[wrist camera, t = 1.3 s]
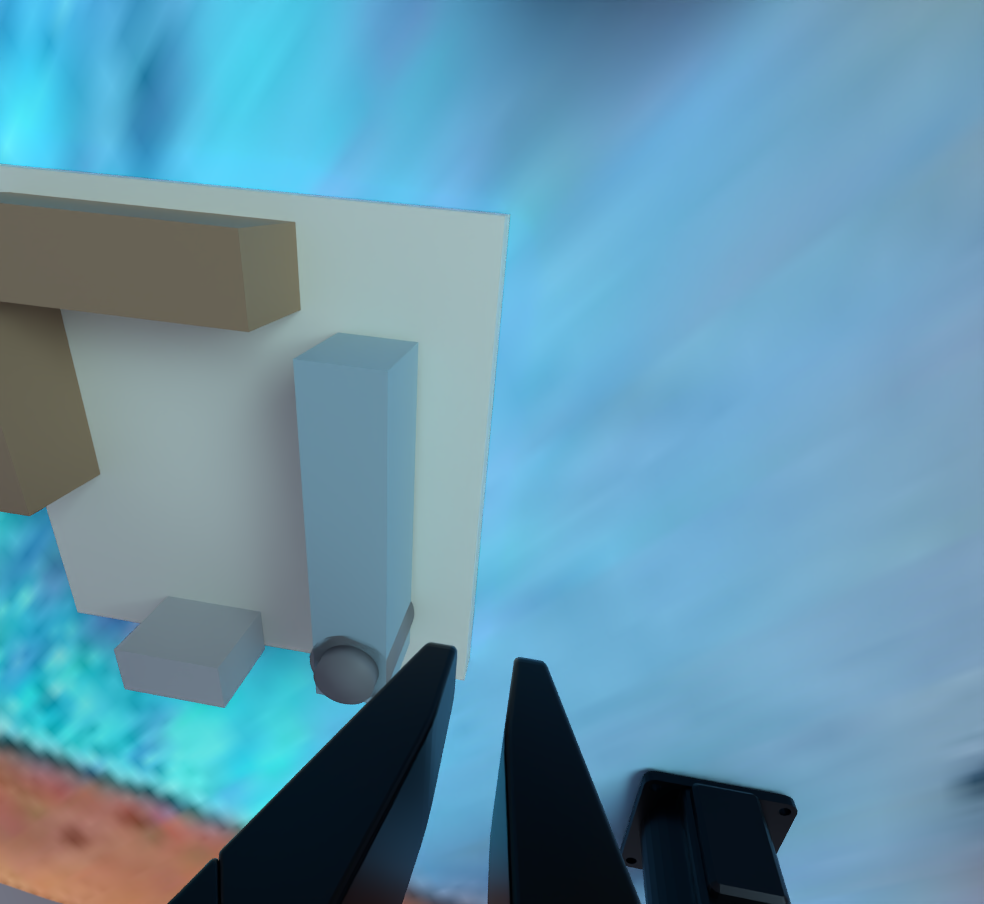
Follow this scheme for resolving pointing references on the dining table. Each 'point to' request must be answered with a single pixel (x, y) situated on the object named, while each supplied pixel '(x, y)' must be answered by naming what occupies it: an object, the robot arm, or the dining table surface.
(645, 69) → the dining table surface
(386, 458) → the leg
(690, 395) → the dining table surface
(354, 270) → the seat
